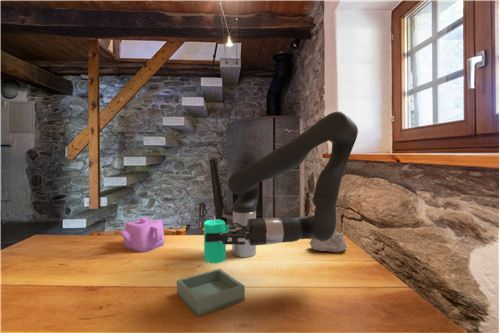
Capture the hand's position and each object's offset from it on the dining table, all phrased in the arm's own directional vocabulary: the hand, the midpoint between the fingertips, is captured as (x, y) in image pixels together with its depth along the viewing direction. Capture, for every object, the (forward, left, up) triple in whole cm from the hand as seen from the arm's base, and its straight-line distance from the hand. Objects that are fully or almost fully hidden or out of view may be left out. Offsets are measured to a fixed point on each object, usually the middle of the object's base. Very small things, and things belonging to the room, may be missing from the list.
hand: (205, 235), depth 79 cm
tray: (0, +1, -18) cm, 18 cm away
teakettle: (-56, -3, -18) cm, 59 cm away
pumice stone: (-6, +58, -18) cm, 61 cm away
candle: (+1, +2, -7) cm, 8 cm away
